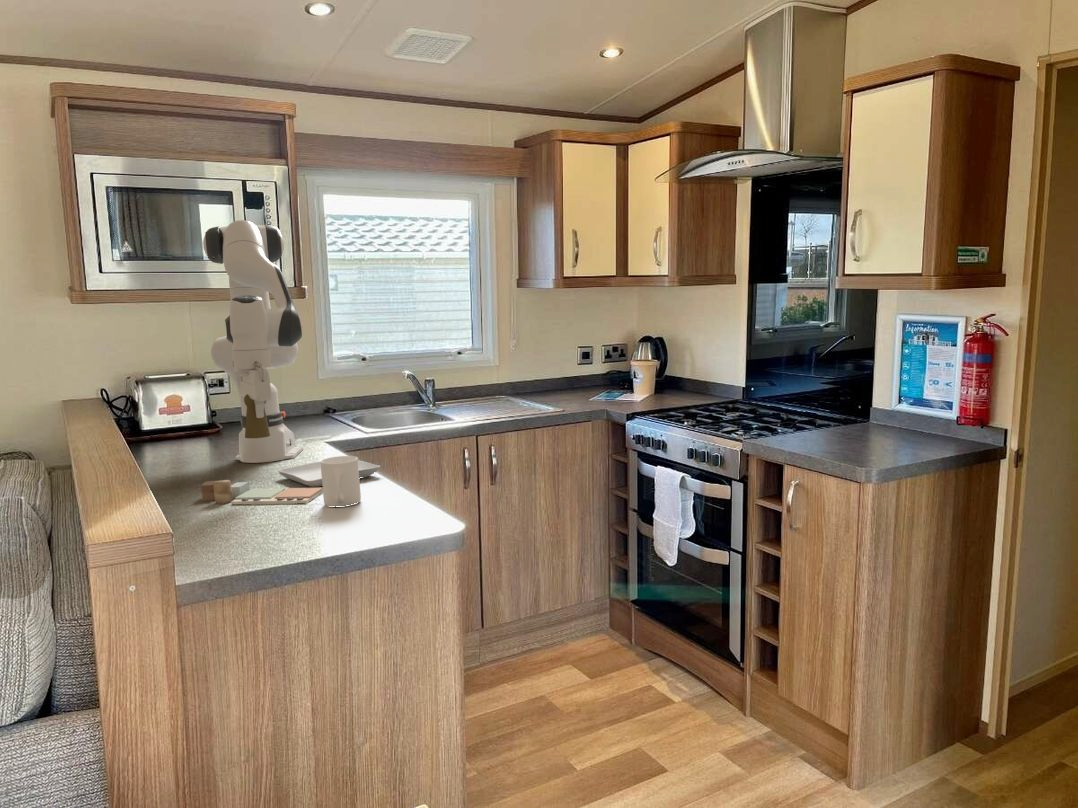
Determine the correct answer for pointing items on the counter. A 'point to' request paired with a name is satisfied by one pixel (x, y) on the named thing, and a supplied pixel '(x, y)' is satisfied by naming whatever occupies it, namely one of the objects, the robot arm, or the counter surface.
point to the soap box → (239, 488)
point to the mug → (340, 480)
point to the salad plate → (312, 472)
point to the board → (278, 496)
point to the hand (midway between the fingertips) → (257, 416)
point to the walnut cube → (208, 490)
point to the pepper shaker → (255, 421)
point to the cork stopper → (222, 491)
